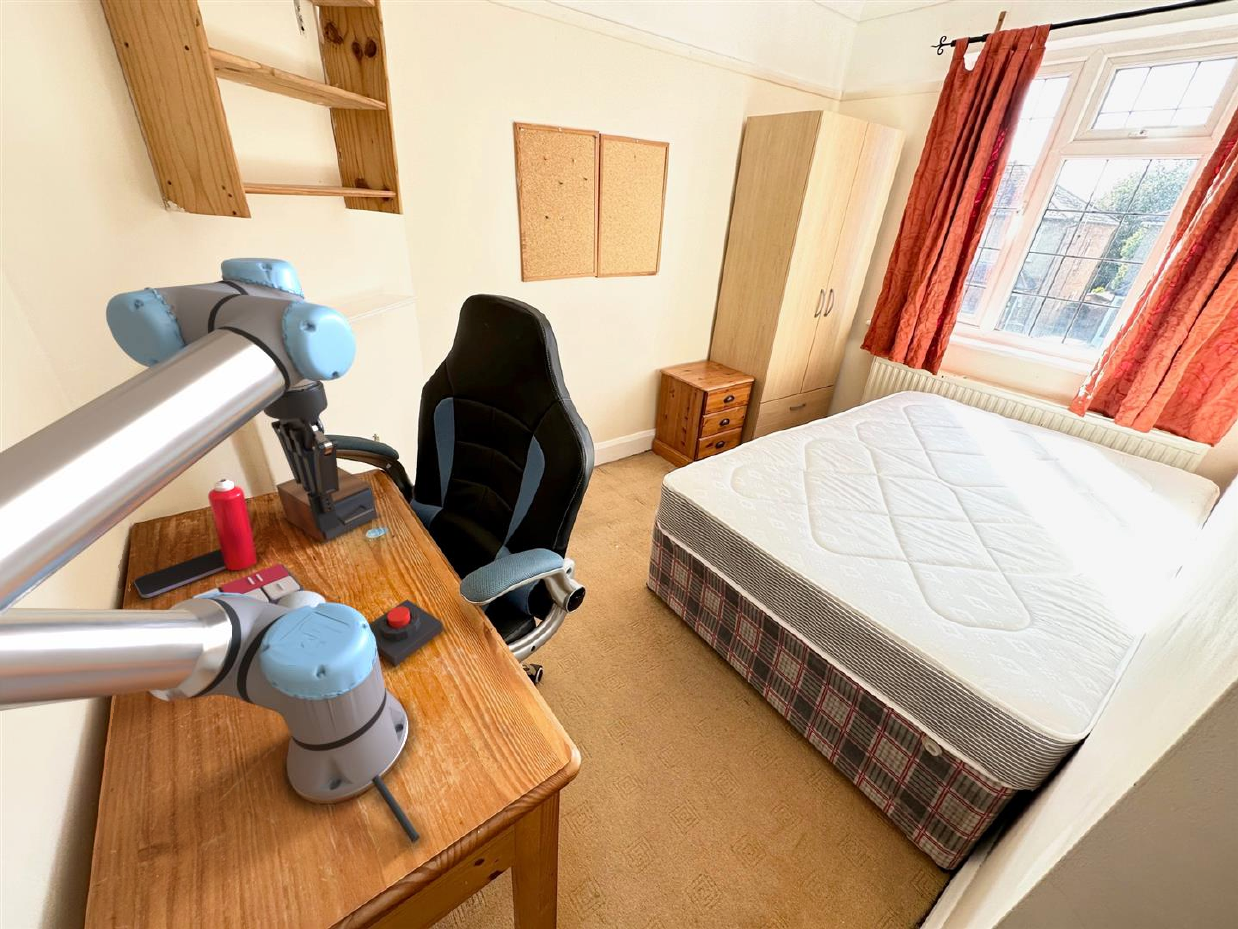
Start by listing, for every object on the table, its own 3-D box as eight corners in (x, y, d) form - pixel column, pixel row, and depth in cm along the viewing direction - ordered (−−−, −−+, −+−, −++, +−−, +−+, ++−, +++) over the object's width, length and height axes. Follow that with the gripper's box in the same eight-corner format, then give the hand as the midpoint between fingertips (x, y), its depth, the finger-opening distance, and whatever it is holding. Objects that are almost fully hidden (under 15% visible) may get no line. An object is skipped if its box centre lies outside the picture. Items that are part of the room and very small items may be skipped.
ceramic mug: (275, 660, 81) (264, 627, 78) (282, 626, 88) (272, 594, 84) (346, 643, 85) (338, 611, 82) (348, 611, 92) (340, 581, 88)
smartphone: (237, 561, 101) (141, 597, 90) (238, 565, 101) (143, 601, 90) (225, 546, 105) (132, 579, 94) (226, 550, 105) (134, 583, 94)
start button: (414, 619, 87) (413, 612, 86) (397, 631, 84) (395, 624, 83) (402, 610, 88) (400, 603, 87) (384, 622, 85) (382, 615, 85)
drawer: (388, 522, 116) (383, 495, 113) (338, 547, 107) (330, 518, 103) (343, 497, 125) (337, 470, 121) (293, 518, 115) (284, 490, 112)
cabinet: (377, 516, 120) (370, 483, 115) (322, 543, 109) (312, 507, 105) (341, 496, 126) (333, 464, 122) (286, 519, 116) (275, 485, 112)
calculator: (303, 585, 92) (205, 626, 81) (307, 603, 94) (212, 645, 83) (281, 560, 98) (187, 595, 87) (285, 577, 100) (193, 613, 89)
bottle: (219, 563, 100) (198, 480, 91) (247, 550, 105) (230, 470, 96) (234, 574, 98) (214, 490, 89) (262, 561, 103) (246, 480, 94)
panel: (443, 630, 89) (440, 614, 87) (395, 667, 82) (391, 650, 80) (408, 607, 94) (405, 592, 92) (360, 640, 86) (356, 624, 84)
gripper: (345, 387, 64) (375, 531, 75) (293, 367, 70) (328, 503, 81) (286, 402, 59) (327, 555, 69) (234, 378, 64) (280, 523, 75)
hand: (328, 527), depth 75 cm, fingers closed
